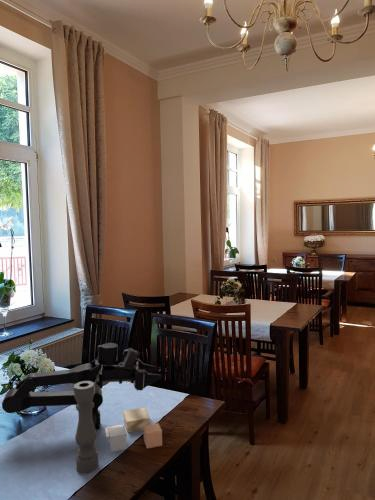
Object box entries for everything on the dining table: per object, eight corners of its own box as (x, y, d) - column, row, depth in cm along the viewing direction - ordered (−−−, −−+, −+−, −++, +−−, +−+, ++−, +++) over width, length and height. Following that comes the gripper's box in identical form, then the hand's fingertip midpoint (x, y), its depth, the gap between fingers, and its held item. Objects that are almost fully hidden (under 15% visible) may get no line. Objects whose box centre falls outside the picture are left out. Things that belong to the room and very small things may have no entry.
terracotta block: (146, 448, 125) (146, 433, 124) (143, 440, 130) (143, 425, 129) (162, 445, 126) (161, 430, 126) (158, 437, 131) (158, 423, 131)
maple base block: (127, 433, 134) (126, 421, 134) (123, 421, 142) (123, 410, 142) (150, 429, 137) (149, 418, 136) (145, 418, 144) (145, 407, 144)
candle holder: (87, 476, 112) (83, 391, 110) (71, 469, 115) (68, 386, 113) (102, 464, 117) (99, 383, 115) (87, 458, 120) (84, 378, 118)
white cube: (111, 452, 123) (110, 436, 123) (109, 443, 128) (108, 428, 128) (127, 448, 125) (126, 433, 124) (124, 440, 130) (124, 425, 129)
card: (106, 437, 131) (106, 436, 131) (104, 428, 137) (104, 427, 137) (124, 434, 133) (124, 433, 133) (122, 425, 139) (122, 424, 139)
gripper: (119, 358, 130) (166, 357, 134) (115, 343, 148) (156, 343, 152) (118, 391, 130) (164, 390, 134) (113, 373, 148) (154, 372, 152)
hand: (159, 372), depth 143 cm, fingers open, 9 cm apart
